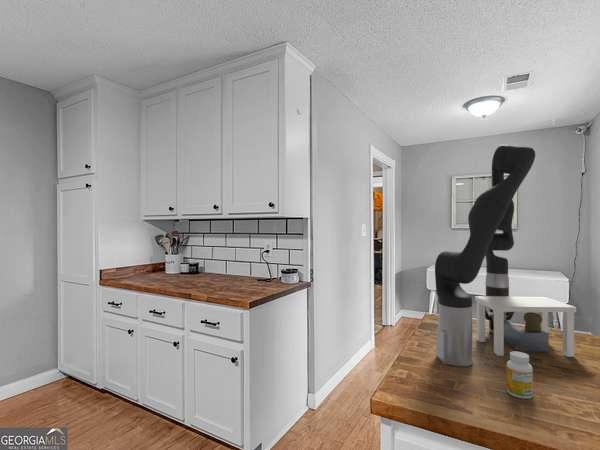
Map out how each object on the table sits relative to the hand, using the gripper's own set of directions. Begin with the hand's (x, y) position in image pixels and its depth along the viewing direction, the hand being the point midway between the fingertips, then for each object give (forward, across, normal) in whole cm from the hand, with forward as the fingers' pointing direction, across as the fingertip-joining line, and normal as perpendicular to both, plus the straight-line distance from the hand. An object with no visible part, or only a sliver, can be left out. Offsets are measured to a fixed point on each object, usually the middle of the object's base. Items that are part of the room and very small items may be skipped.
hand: (497, 330), depth 125 cm
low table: (+1, +1, -14) cm, 14 cm away
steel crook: (+1, +3, -7) cm, 8 cm away
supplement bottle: (+1, -17, -44) cm, 47 cm away
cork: (+1, +6, -11) cm, 13 cm away
